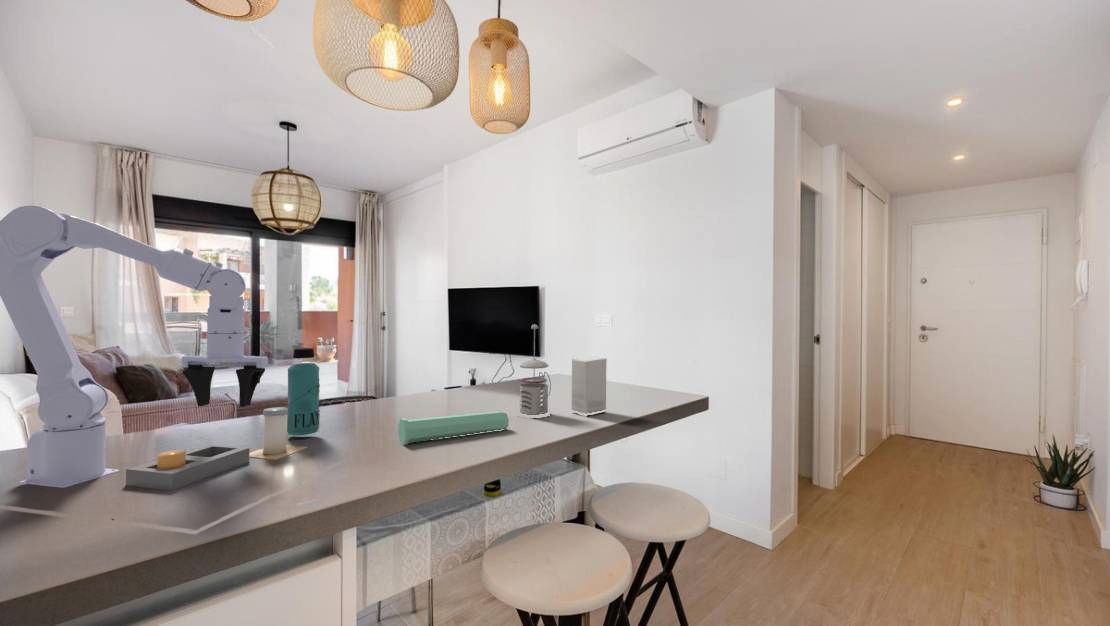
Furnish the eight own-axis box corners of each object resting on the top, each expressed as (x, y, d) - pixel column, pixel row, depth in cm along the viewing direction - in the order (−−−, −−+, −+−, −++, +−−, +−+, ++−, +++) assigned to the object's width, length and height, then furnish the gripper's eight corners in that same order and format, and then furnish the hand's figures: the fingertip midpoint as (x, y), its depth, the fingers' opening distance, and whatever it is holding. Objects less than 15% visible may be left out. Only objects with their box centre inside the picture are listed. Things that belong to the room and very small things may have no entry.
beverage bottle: (289, 444, 98) (290, 349, 98) (283, 437, 103) (284, 347, 103) (323, 439, 102) (323, 348, 102) (315, 433, 107) (316, 346, 107)
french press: (538, 409, 135) (539, 323, 135) (562, 417, 126) (563, 324, 126) (509, 413, 130) (510, 324, 129) (532, 421, 120) (533, 325, 120)
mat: (240, 459, 88) (240, 455, 88) (274, 447, 96) (274, 444, 96) (276, 462, 86) (276, 459, 86) (307, 449, 94) (307, 446, 94)
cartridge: (256, 453, 89) (258, 411, 89) (272, 447, 93) (273, 407, 93) (277, 455, 89) (278, 411, 89) (291, 448, 93) (292, 407, 93)
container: (504, 403, 114) (400, 412, 101) (514, 417, 109) (406, 428, 96) (499, 423, 116) (397, 435, 102) (509, 438, 111) (403, 452, 98)
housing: (125, 488, 73) (125, 469, 73) (208, 460, 87) (208, 444, 87) (172, 493, 71) (172, 473, 71) (249, 464, 85) (249, 447, 85)
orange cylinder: (150, 477, 74) (151, 455, 74) (173, 470, 78) (173, 449, 78) (169, 479, 74) (169, 457, 74) (191, 471, 77) (191, 450, 77)
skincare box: (591, 409, 136) (592, 356, 136) (607, 413, 131) (608, 358, 131) (570, 413, 131) (570, 357, 131) (586, 417, 126) (586, 360, 125)
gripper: (169, 333, 83) (167, 409, 83) (252, 334, 84) (251, 410, 84) (197, 332, 90) (196, 401, 90) (274, 333, 91) (273, 402, 91)
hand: (224, 405), depth 87 cm, fingers open, 7 cm apart
